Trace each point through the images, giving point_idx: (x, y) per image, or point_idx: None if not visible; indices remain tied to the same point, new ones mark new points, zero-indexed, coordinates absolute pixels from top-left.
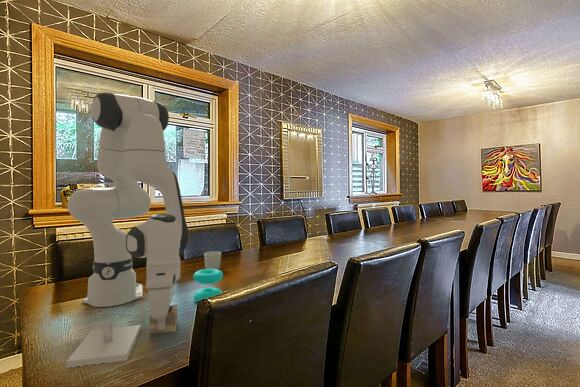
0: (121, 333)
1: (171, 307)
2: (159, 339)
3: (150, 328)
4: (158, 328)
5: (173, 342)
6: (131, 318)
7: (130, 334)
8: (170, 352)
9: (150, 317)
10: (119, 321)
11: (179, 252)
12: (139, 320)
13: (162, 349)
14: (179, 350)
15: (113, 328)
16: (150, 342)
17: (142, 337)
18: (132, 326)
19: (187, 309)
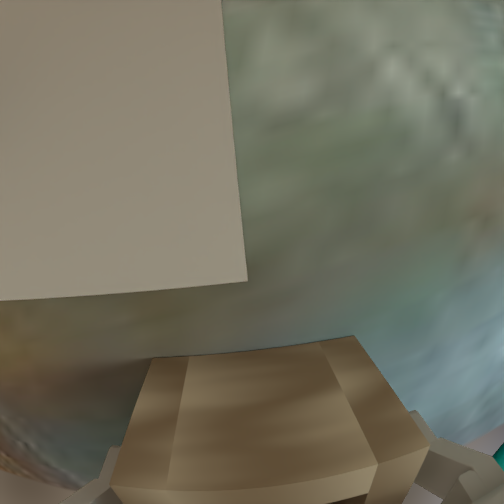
0: (50, 144)
1: None
2: (86, 416)
3: (142, 391)
4: (111, 450)
5: (72, 463)
6: (493, 116)
7: (26, 246)
8: (3, 443)
9: (118, 471)
10: (452, 36)
11: None
12: (460, 186)
13: (9, 423)
14: (25, 467)
15: (197, 5)
16: (45, 375)
17: (101, 314)
18: (214, 193)
19: (484, 425)
